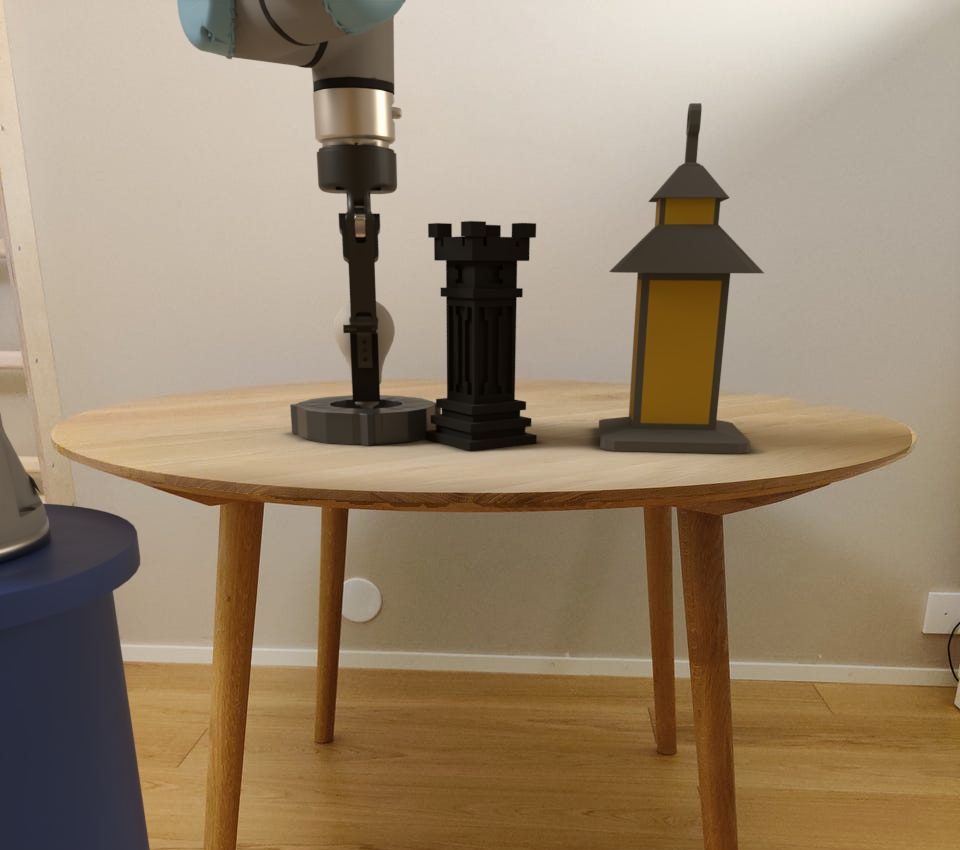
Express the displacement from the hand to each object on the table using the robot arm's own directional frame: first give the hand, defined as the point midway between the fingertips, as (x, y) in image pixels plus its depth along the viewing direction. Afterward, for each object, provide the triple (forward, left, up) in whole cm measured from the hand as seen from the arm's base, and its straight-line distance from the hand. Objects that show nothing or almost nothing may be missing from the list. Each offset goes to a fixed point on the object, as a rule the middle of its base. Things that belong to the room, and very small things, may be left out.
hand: (366, 396), depth 98 cm
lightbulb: (0, 0, -2) cm, 2 cm away
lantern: (+16, -26, -4) cm, 31 cm away
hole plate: (0, 0, -4) cm, 4 cm away
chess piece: (+4, -12, -4) cm, 13 cm away
